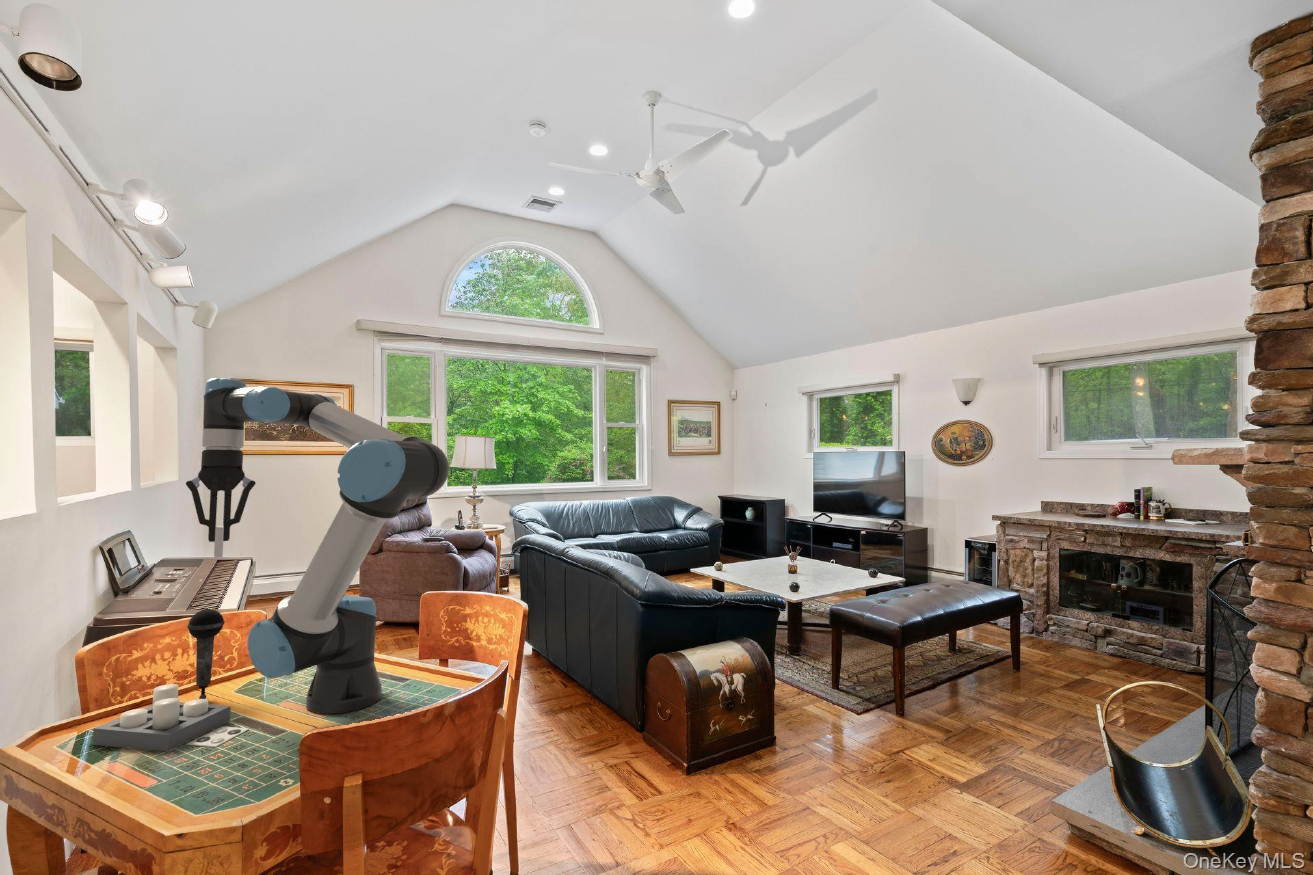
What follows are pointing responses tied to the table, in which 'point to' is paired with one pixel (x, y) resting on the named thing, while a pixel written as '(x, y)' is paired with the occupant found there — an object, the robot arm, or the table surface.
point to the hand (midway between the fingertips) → (218, 556)
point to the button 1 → (133, 718)
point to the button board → (161, 739)
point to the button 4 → (195, 707)
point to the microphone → (205, 643)
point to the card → (218, 736)
